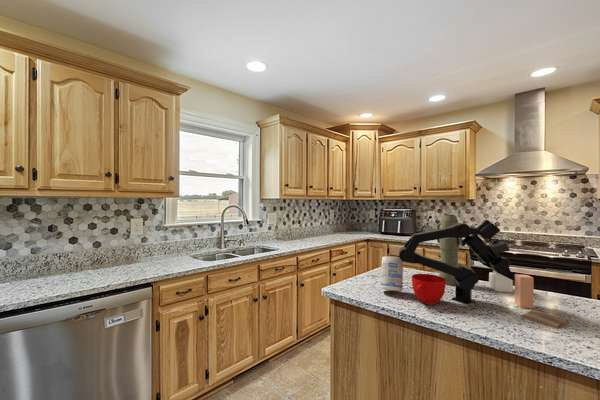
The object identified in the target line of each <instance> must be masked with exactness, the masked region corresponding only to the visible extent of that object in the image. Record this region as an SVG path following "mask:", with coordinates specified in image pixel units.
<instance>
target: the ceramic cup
mask: <svg viewBox="0 0 600 400" xmlns="http://www.w3.org/2000/svg"><path fill="white" fill-rule="evenodd" d="M445 284H446V280H445V279H444V278H443V277H440V276H439V275H436V274H431V273H415V274H412V275H411V285H412V291H413V293H414V295H415V296H416V297H417V299H418V300H419V302H420V303H422V304H426V305H437V304H438V303H439V302H440V301H441V300H442V298H443V296H444V294H445V291H446V285H445Z"/></svg>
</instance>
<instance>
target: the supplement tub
mask: <svg viewBox="0 0 600 400" xmlns="http://www.w3.org/2000/svg"><path fill="white" fill-rule="evenodd" d="M380 268H381V270H380V289H381V290H385V291H393V292H394V291H395V292H403V282H404V262H403V261H402V260H401V259H400V257H399V256H398V257H397V256H382V258H381V267H380Z"/></svg>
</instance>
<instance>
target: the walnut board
mask: <svg viewBox="0 0 600 400" xmlns="http://www.w3.org/2000/svg"><path fill="white" fill-rule="evenodd" d="M520 318H522V319H526V320H529V321H532V322H535V323H539V324H542V325H544V326H548V327H551V328H554V329H559V328H561V327H562V326H564V325H566V324H568V323H570V320H569V319H568V318H564V317H560V316H557V315H553V314H551V313H547V312H543V311H540V310H536V309H533V310H531V311H527V312H526V313H523V314H521V317H520Z"/></svg>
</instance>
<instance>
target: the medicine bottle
mask: <svg viewBox="0 0 600 400" xmlns="http://www.w3.org/2000/svg"><path fill="white" fill-rule="evenodd" d="M488 286H489V288H490V289H492V290H494V291H495V292H501V293H502V292H503V293H504V292H505V293H513V292H514V280H511V279H509V278H507V277H505V276H503V275H501V274H499V273H497V272H495V271H494V270H493V269H492V272H489V273H488Z"/></svg>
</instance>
